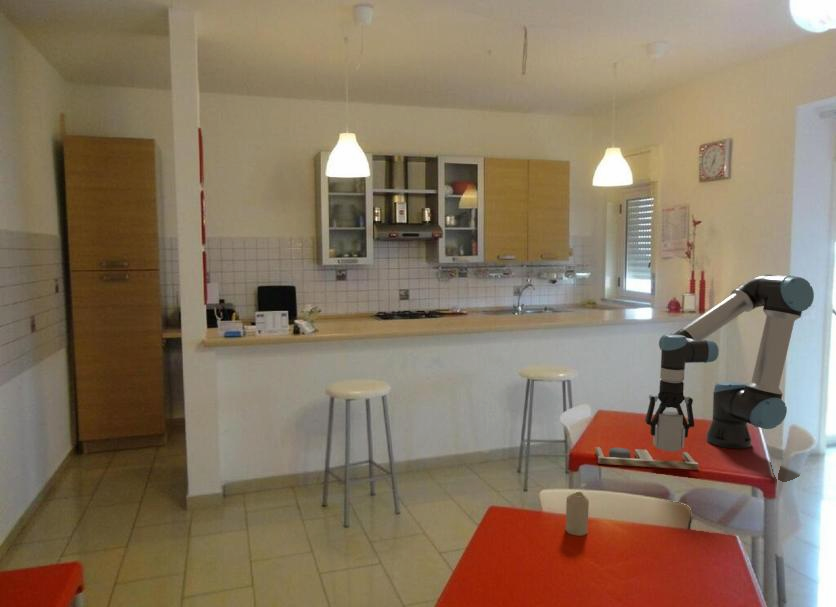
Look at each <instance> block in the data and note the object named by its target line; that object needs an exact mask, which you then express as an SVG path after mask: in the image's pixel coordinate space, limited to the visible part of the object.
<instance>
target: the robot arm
mask: <svg viewBox="0 0 836 607" xmlns="http://www.w3.org/2000/svg"><path fill="white" fill-rule="evenodd" d="M814 292H815V291H814V289H813V286H812V285H811V283H810V282H809V281H808V280H807V279H805V278H804V277H800V276H795V275H780V274H778V275H777V274H762V275H759V276H756V277H753V278H752V279H749V280H747V281H746V282H744V283H742V284H741V285H739V286H737V287H736V288H734V289H733V290H732V291H731V292H730V295H729V296H727V297H726V298H724V299H723V300H722V301H720V302H718V303H717V304H716V305H715V306H712V308H710V309H709V310H707V311H706V312H704V313H702V314H701V315H699V316H698V317H697V318H695V319H693V320H692V321H691V322H689V323H688V324H686V325H684V326H683V327H682V328H680V329H679V330H677V331H676V332H674V333H664V334H663V335H662V336H660V339H659V340H658V347H659V349H660V351H661V352H660V353H661V355H660V356H661V357H660V373H659V378H660V380H659V391H658V394H657V395H653V394H651V395H649V396H648V397H649V404H648V408H647V412H646V416H645V419H644V420H645V423H646V424H647V425H649V426H650V435H651V436H652V444H653V445H654V446H655V447H656V446H657V436H658V427H657V422H658V421H659V414H662V413H663V411H664V410H666V409H669V408H673V409H676V412H678V413H679V414H680V415H683V425H682V442H681V448H685V439H686V438H688V436H689V429H690V428H694V427H695V420H694V418H695V417H694V413H693V412H694V411H693V402H694V400H693V398H692V397H691V396H688V397H687V396H685V395H684V390H685V389H684V387H685V383H684V381H685V370H686V364H690V363H694V364H695V363H697V364H698V363H701V364H702V363H703V364H707V363H712V362H715V361H716V360H717V359H718V357H719V352H720V351H719V349H720V348H719V347H718V345H717V343H716V342H715V341H713V340H706V338H707V337H709V336H711V335H713V334H714V333H716V332H717V331H718V330H719V329H721V328H722V327H724V326H726V325H727V324H728V323H730V322H732V321H733V320H734V319H735V318H737V317H739V316H740V315H742V314H743V313H744V312H747V313H749V312H751V311H753V310H755V309H756V308H759V307H760V308H761V307H762V311H763V314H765V316H766V318H765V322H764V327H763V331H762V336H761V337H760V338H761V339H760V343H759V348H758V351H757V356H756V360H755V365H754V369H753V373H752V378H751V381H750V382H748V383H747V382H739V381H738V382H737V381H736V382H735V381H720V382H717V383H715V385H714V389H713V400H712V418H711V419H712V420H711V422H710V425H709V427H708V429H707V432H706V435H705V436H706V438H705V440H706V441H707V442H708V443H710V444H712V445H714V446H718V447H722V448H727V449H737V450H739V449H749V448H750V447H752V437H751V435H750V430H749V427H748V425H752V426H753V427H755V428H761V429H762V430H763V429H764V430H771V429H775V428H776V427H778V426H780V425H781V424H782V423H783V421H784V420H785V419H786V417H787V413H788V412H787V411H788V409H787V406H786V403H785V401H783V399H782V397H783V391H782V390H781V389H780V384H781V380H782V376H783V371H784V368H785V363H786V359H787V355H788V351H789V345H790V342H791V337H792V334H793V329H794V325H795V321H797V320H798V319H800V318H802V313H803V312H804V311H806V310H808V309H809V308H811V306H812V304H813V302H814V299H815V293H814ZM657 401H660V404H659V405H658V408H657V410H656V412H655V414H654V416H653V413H654V410H655V406H656V402H657ZM683 402H684V403H685V406H686V407H685V408H686V414H687V415H686V416H687V419H686V416H685V415H684V412H683V408H682V406H681V404H682V403H683Z"/></svg>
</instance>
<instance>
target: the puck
mask: <svg viewBox="0 0 836 607" xmlns="http://www.w3.org/2000/svg"><path fill="white" fill-rule="evenodd" d="M608 452H609V454H608V457H616V458H631V452H632V451H630V449H628V448H623V447H611V448H610V449H609V450H608Z"/></svg>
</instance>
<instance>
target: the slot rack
mask: <svg viewBox="0 0 836 607" xmlns="http://www.w3.org/2000/svg"><path fill="white" fill-rule="evenodd" d="M595 454H596V457H597V463H598V464H601V465H616V466H617V465H618V466H628V467H630V466H631V467H645V468H646V467H648V468H662V469H663V468H664V469H679V470H680V469H681V470H695V471H698V470H699V463H698V462H696V461H695V460H694V459H693V457H692V456H691V455H690V454H689V453H688V452H687V451H682V454H681V455H682V456H681V458H682V460H684V461H681V460H680V461H679V460H664V459H663V460H662V459H653V457H652V456H651V454H650V453H649V451H648V450H647V449H639V448H638V449H636V448H635V449H634V456H635V457H636V458H633V457H632V458H631V457H630V458H616V457H609V456H605V455H604V453H603V450H602V448H601V447H600V446H595Z"/></svg>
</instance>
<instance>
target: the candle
mask: <svg viewBox="0 0 836 607" xmlns="http://www.w3.org/2000/svg"><path fill="white" fill-rule="evenodd" d="M589 501H590V500H589V499H588V498H587V496H585V494H584V493H583V492H582V491H577V492H575V493H570V494H569V495H568V496H566V503H565V504H566V505H565V506H566V507H565V508H566V509H565V511H566V512H565V531H566V532H567V533H568V534H570V535H573V536H582V537H583V536H585V535H587V534H588V530H589V529H588V528H589Z"/></svg>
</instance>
